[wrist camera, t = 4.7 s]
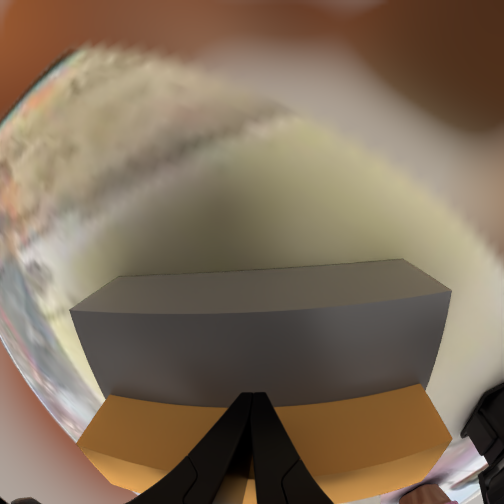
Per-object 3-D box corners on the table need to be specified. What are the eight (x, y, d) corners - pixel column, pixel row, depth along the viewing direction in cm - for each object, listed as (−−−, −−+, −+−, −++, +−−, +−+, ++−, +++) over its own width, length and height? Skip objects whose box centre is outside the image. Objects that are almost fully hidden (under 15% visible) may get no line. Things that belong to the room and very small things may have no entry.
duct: (403, 258, 12) (451, 290, 8) (350, 480, 17) (356, 515, 13) (118, 276, 13) (69, 310, 9) (198, 484, 19) (189, 518, 14)
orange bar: (420, 383, 9) (452, 438, 5) (401, 430, 10) (421, 481, 6) (109, 394, 10) (75, 443, 7) (134, 438, 11) (112, 484, 8)
